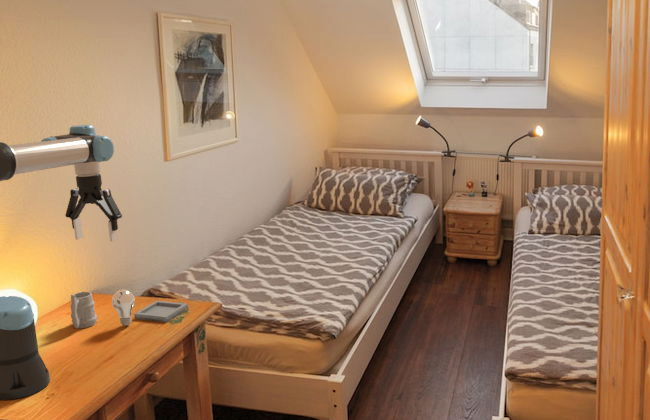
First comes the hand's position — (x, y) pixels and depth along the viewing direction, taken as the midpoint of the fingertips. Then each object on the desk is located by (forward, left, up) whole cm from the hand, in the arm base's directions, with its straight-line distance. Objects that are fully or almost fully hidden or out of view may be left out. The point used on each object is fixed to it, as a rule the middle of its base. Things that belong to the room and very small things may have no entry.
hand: (96, 239), depth 224 cm
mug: (-9, +2, -26) cm, 28 cm away
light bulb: (-5, -12, -26) cm, 30 cm away
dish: (+7, -17, -26) cm, 32 cm away
